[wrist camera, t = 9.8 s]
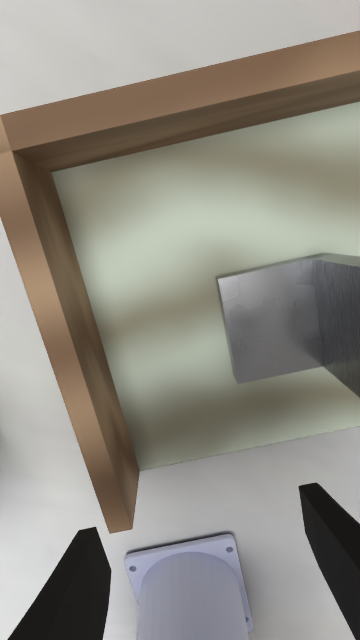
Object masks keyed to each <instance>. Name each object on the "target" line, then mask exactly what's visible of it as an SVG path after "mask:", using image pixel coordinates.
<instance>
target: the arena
mask: <svg viewBox="0 0 360 640" xmlns="http://www.w3.org/2000/svg"><path fill="white" fill-rule="evenodd" d="M0 217H1V220H2V223H3V226H4V228H5V231H6V234H7V237H8V240H9V243H10V246H11V249H12V252H13V255H14V258H15V260H16V263H17V266H18V269H19V272H20V275H21V278H22V281H23V284H24V287H25V289H26V292H27V295H28V298H29V301H30V304H31V307H32V310H33V313H34V316H35V318H36V321H37V324H38V327H39V330H40V333H41V336H42V339H43V342H44V345H45V348H46V350H47V353H48V356H49V359H50V362H51V365H52V368H53V371H54V374H55V377H56V379H57V382H58V385H59V388H60V391H61V394H62V397H63V400H64V403H65V406H66V409H67V411H68V414H69V417H70V420H71V423H72V426H73V429H74V432H75V435H76V438H77V440H78V443H79V446H80V449H81V452H82V455H83V458H84V461H85V464H86V467H87V470H88V472H89V475H90V478H91V481H92V484H93V487H94V490H95V493H96V496H97V499H98V501H99V504H100V507H101V510H102V513H103V516H104V519H105V522H106V525H107V528H108V531H109V533H110V534H111V533H116V532H121V531H126V530H131V529H132V528H133V520H134V512H135V504H136V496H137V488H138V480H139V472H140V471H143V470H148V469H152V468H157V467H162V466H167V465H172V464H177V463H182V462H187V461H191V460H196V459H201V458H206V457H211V456H216V455H221V454H226V453H230V452H235V451H240V450H245V449H250V448H255V447H260V446H265V445H269V444H274V443H279V442H284V441H289V440H294V439H299V438H304V437H308V436H313V435H318V434H323V433H328V432H333V431H338V430H343V429H348V428H352V427H357V426H360V398H359V397H358V396H357V395H356V394H355V393H353V392H352V391H351V390H350V389H349V388H348V387H346V386H345V385H344V384H343V383H342V382H341V381H339V380H338V379H337V378H336V377H335V376H334V375H332V374H331V373H330V372H329V371H328V370H327V369H325V368H324V367H323V366H322V367H318V368H313V369H308V370H304V371H299V372H294V373H289V374H285V375H280V376H275V377H271V378H266V379H261V380H256V381H252V382H247V383H242V384H237V382H236V379H235V377H234V375H233V369H232V364H231V359H230V353H229V348H228V343H227V337H226V332H225V327H224V322H223V316H222V311H221V306H220V300H219V295H218V290H217V284H216V279H215V276H219V275H223V274H228V273H232V272H237V271H241V270H246V269H250V268H255V267H260V266H264V265H269V264H273V263H278V262H282V261H287V260H291V259H296V258H300V257H305V256H309V255H314V254H318V253H323V252H326V253H334V254H343V255H352V256H360V31H356V32H351V33H347V34H343V35H339V36H334V37H330V38H326V39H322V40H317V41H313V42H309V43H305V44H300V45H296V46H292V47H287V48H283V49H279V50H275V51H270V52H266V53H262V54H258V55H253V56H249V57H245V58H241V59H236V60H232V61H228V62H224V63H219V64H215V65H211V66H207V67H202V68H198V69H194V70H190V71H185V72H181V73H177V74H173V75H168V76H164V77H160V78H156V79H151V80H147V81H143V82H139V83H134V84H130V85H126V86H122V87H117V88H113V89H109V90H105V91H100V92H96V93H92V94H88V95H83V96H79V97H75V98H71V99H66V100H62V101H58V102H54V103H49V104H45V105H41V106H37V107H32V108H28V109H24V110H20V111H15V112H11V113H7V114H2V115H0Z"/></svg>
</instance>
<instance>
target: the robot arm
mask: <svg viewBox="0 0 360 640" xmlns="http://www.w3.org/2000/svg"><path fill="white" fill-rule="evenodd" d="M299 492H300V499H301V506H302V513H303V520H304V527H305V533H306V535H307V538H308V540H309V543H310V546H311V548H312V551H313V553H314V556H315V558H316V561H317V563H318V566H319V568H320V570H321V572H322V574H323V576H324V578H325V580H326V582H327V584H328V586H329V588H330V590H331V592H332V594H333V596H334V598H335V600H336V602H337V604H338V606H339V608H340V610H341V612H342V613H343V615H344V617H345V619H346V621H347V623H348V625H349V627H350V629H351V631H352V633H353V635H354V637H355V639H356V640H360V524H359V523H358V522H357V521H356V520H355V519H354V518H353V517H352V516H351V515H349V514H348V513H347V512H346V511H345V510H344V509H343V508H342V507H341V506H340V505H339V504H338V503H337V502H336V501H335V500H334V499H333V498H332V497H331V496H330V495H329V494H328V493H327V492H326V491H325V490H324V489H323V488H322V487H321V486H320V485H319V484H318V483H311V484H306V485H301V486H299ZM124 564H125V567H126V570H127V573H128V576H129V579H130V582H131V585H132V588H133V591H134V594H135V597H136V600H137V603H138V606H139V613H138V626H137V638H136V640H249V635H248V633H249V632H251V631H252V630H253V622H252V617H251V613H250V608H249V604H248V599H247V594H246V590H245V585H244V581H243V576H242V571H241V567H240V562H239V557H238V553H237V548H236V544H235V539H234V537H233V536H232V535H230V534H225V535H220V536H215V537H210V538H205V539H200V540H195V541H189V542H184V543H179V544H174V545H169V546H164V547H159V548H154V549H149V550H144V551H139V552H134V553H130V554H127V555H126V556H125V560H124ZM110 583H111V568H110V565H109V562H108V560H107V557H106V554H105V551H104V548H103V546H102V543H101V540H100V537H99V534H98V531H97V529H96V527H92V528H88V529H83V530H79V531H78V532H77V534H76V536H75V537H74V539H73V540H72V542H71V544H70V545H69V547H68V548H67V550H66V552H65V553H64V555H63V557H62V558H61V560H60V561H59V563H58V565H57V566H56V568H55V569H54V571H53V573H52V574H51V576H50V577H49V579H48V581H47V582H46V584H45V585H44V587H43V588H42V590H41V591H40V593H39V595H38V596H37V598H36V599H35V601H34V602H33V604H32V605H31V607H30V608H29V610H28V611H27V612H26V614H25V615H24V617H23V618H22V620H21V621H20V623H19V624H18V625H17V627H16V628H15V630H14V631H13V633H12V634H11V635H10V637H9V638H8V640H103V634H104V629H105V623H106V618H107V612H108V605H109V595H110Z"/></svg>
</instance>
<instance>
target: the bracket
mask: <svg viewBox="0 0 360 640" xmlns="http://www.w3.org/2000/svg"><path fill="white" fill-rule="evenodd" d="M215 279H216V284H217V290H218V295H219V300H220V306H221V311H222V316H223V322H224V327H225V332H226V337H227V343H228V348H229V353H230V359H231V364H232V369H233V375H234V377H235V379H236V382H237V384H242V383H247V382H252V381H256V380H261V379H266V378H271V377H275V376H280V375H285V374H289V373H294V372H299V371H304V370H308V369H313V368H318V367H322V366H323V367H324V368H325V369H327V370H328V371H329V372H330V373H331V374H332V375H334V376H335V377H336V378H337V379H338V380H339V381H341V382H342V383H343V384H344V385H345V386H346V387H348V388H349V389H350V390H351V391H352V392H353V393H355V394H356V395H357V396H358V397H359V398H360V256H352V255H343V254H334V253H326V252H323V253H318V254H314V255H309V256H305V257H300V258H296V259H291V260H287V261H282V262H278V263H273V264H269V265H264V266H260V267H255V268H250V269H246V270H241V271H237V272H232V273H228V274H223V275H219V276H215Z"/></svg>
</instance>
